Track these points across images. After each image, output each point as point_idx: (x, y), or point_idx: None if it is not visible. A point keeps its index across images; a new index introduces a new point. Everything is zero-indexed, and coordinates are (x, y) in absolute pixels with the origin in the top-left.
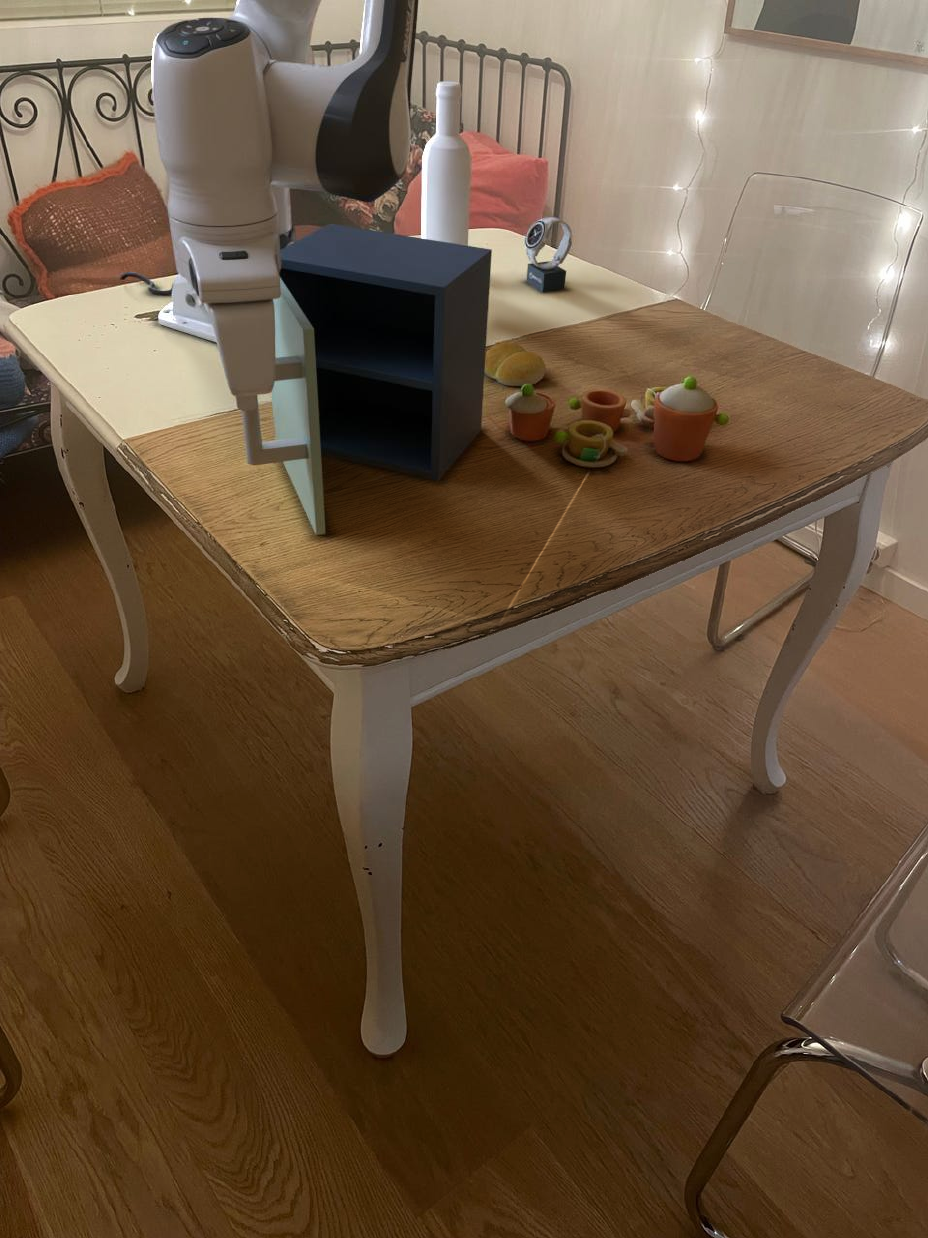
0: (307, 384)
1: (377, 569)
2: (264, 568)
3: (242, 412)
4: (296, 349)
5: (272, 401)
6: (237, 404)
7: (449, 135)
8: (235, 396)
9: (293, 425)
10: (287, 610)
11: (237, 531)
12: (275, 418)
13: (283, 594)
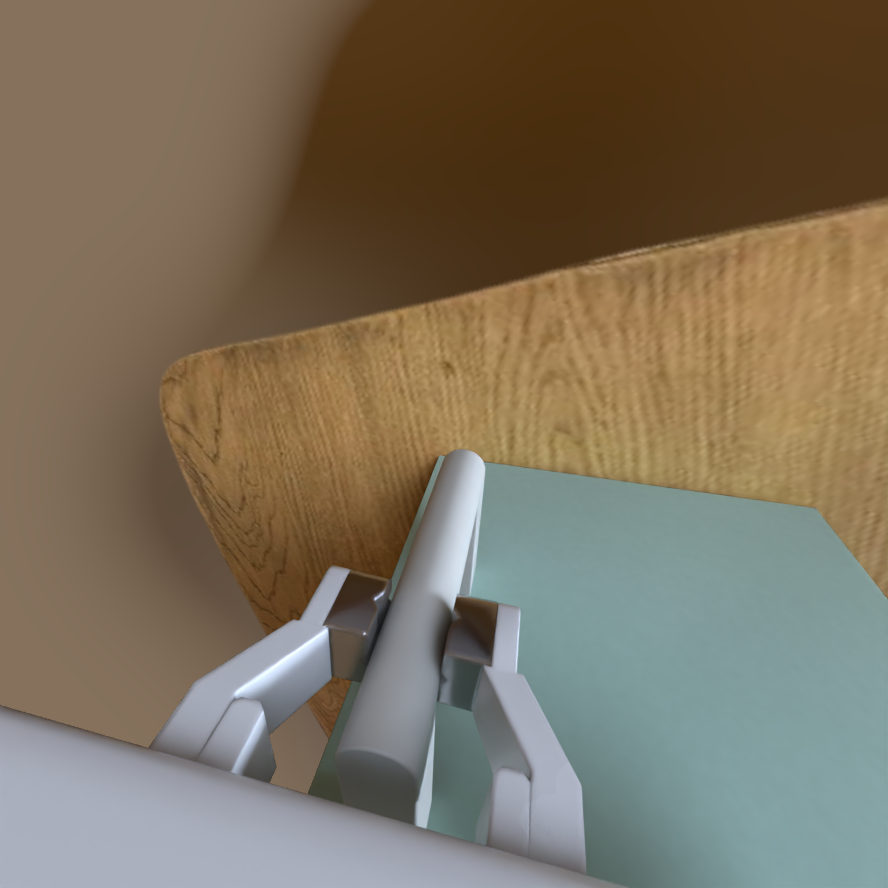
0: (316, 774)
1: (329, 493)
2: (369, 346)
3: (424, 557)
4: None
5: (879, 599)
6: (322, 579)
7: None
8: (347, 601)
9: (589, 597)
10: (246, 345)
11: (512, 335)
12: (831, 565)
13: (289, 352)
